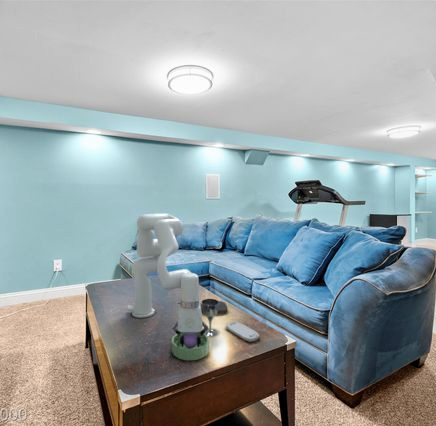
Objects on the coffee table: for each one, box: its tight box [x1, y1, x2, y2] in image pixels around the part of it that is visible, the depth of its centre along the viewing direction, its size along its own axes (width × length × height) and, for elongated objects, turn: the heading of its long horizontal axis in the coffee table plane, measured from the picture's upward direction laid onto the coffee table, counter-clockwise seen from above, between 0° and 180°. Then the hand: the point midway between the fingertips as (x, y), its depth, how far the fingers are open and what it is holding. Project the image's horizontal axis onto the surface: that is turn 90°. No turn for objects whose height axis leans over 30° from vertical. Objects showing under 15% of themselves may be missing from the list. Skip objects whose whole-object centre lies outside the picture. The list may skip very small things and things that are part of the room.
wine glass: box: [201, 298, 219, 337], centre depth 129 cm, size 8×8×15 cm
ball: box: [183, 333, 197, 348], centre depth 114 cm, size 6×6×6 cm
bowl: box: [171, 332, 210, 361], centre depth 114 cm, size 16×16×5 cm
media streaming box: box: [200, 300, 228, 315], centre depth 157 cm, size 15×15×3 cm
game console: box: [225, 321, 260, 343], centre depth 128 cm, size 18×2×8 cm
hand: (190, 344), depth 114 cm, fingers closed on ball, 5 cm apart
